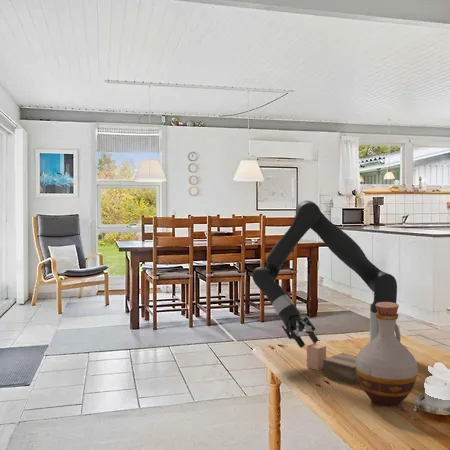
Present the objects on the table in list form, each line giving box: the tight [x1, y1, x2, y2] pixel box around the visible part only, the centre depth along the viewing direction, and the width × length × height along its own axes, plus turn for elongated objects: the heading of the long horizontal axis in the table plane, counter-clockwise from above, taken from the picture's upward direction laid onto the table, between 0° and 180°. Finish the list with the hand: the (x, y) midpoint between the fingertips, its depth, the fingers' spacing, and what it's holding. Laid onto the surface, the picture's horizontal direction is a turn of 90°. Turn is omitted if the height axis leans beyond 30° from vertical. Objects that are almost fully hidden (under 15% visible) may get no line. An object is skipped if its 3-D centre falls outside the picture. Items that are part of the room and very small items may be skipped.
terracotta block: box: [306, 342, 327, 371], centre depth 178 cm, size 5×5×8 cm
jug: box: [356, 302, 418, 408], centre depth 147 cm, size 20×18×30 cm
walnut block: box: [322, 352, 360, 385], centre depth 169 cm, size 12×12×6 cm
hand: (309, 344), depth 180 cm, fingers open, 8 cm apart
